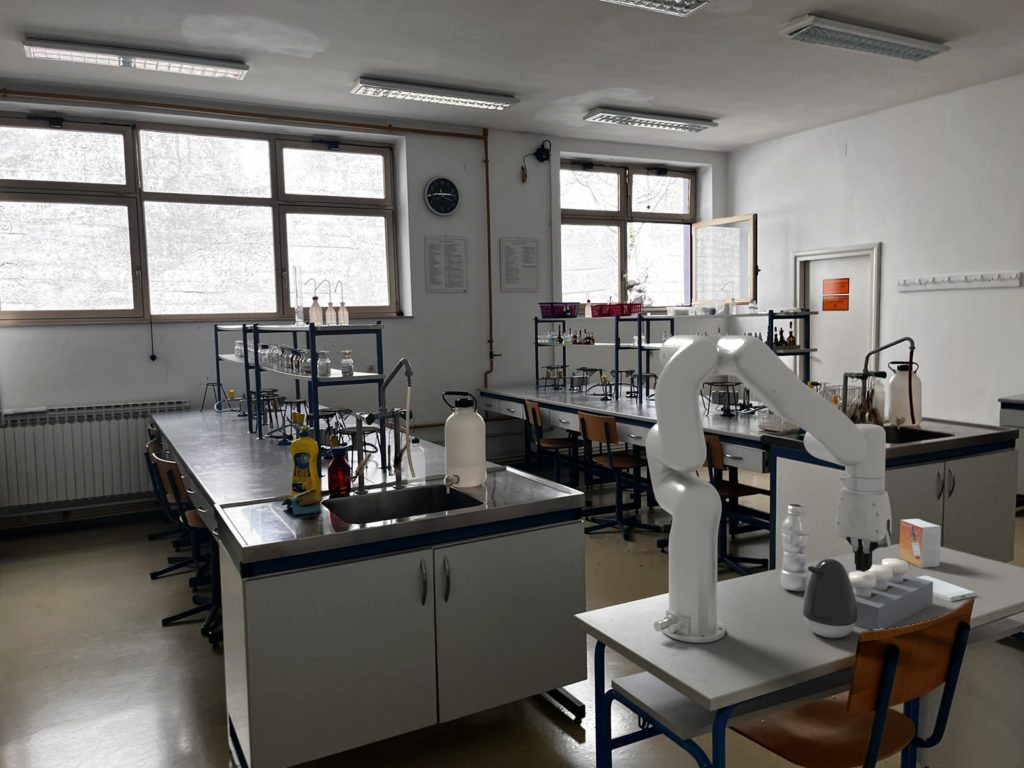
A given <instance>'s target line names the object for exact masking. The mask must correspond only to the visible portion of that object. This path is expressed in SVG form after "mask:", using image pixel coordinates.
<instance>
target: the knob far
mask: <svg viewBox="0 0 1024 768" xmlns="http://www.w3.org/2000/svg"><path fill="white" fill-rule="evenodd" d="M881 565H883V566H887V567H890V568H891V569H892V570H893V577H892V580H888V581H889V582H893V583H897V584H902V583H903V574H904V575H905V574H908V573H909V562H907V561H905V560H902V559H900V558H893V557H892V558H891V557H888V558H882V559H881Z"/></svg>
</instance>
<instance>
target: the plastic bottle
mask: <svg viewBox="0 0 1024 768" xmlns="http://www.w3.org/2000/svg"><path fill="white" fill-rule="evenodd" d="M786 512H787V514H788V515H787V516H786V517H785V518H784V520H782V522H781V525H780V532H781V533H780V534H781V539H782V550H783V551H782V553H783V554H782V555H783V556H782V557H783V558H782V567H781V570H780V571H781V572H780V575H779V576H780V583H781V585H782V587H783V588H784V589H785V590H788V591H792V592H805V590H806V587H807V584H808V581H809V578H810V576H811V571H809V570H808V566H810V565H809V547H810V546H809V545H810V539H811V538H810V537H811V533H812V528H811V525H810V523H809V521H808V519H806V517H805V515H806V506H805V504H801V503H789V504H788V505H787V510H786Z"/></svg>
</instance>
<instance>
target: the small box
mask: <svg viewBox="0 0 1024 768" xmlns="http://www.w3.org/2000/svg"><path fill="white" fill-rule="evenodd" d="M899 527H900V528H899V551H898V552H899V553H898V559H900V560H904V561H906V562H908V564H912V565H913V566H916V567H918V568H920V569H923V568H933V567H939V566H940V558H941V557H940V553H941V533H942V532H941V530H942V527H941V525H939V524H935V523H931V522H928V521H925V520H923V519H920V518H908V519H907V518H906V519H900V525H899Z"/></svg>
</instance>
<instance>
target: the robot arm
mask: <svg viewBox="0 0 1024 768" xmlns="http://www.w3.org/2000/svg"><path fill="white" fill-rule="evenodd" d="M658 356H659V362H660V365H661V366H662V368H663V369H662V370H661V373H660V374H659V376H658V379H657V380H656V381H657V382H656V384H655V388H654V408H655V415H656V423H655V424H654V425H652V427H651V428H650V430H649V431H648V432H647V435H646V439H645V451H646V459H647V463H648V464H647V465H648V468H649V474H650V480H651V485H652V491H653V493H654V497H655V500H656V502H657V503H658V505H659V506H660V507H661V508H662V509H663V510H664V511H666V513H668V514H669V515H671V517H672V521H671V522H672V523H671V528H670V531H669V532H670V533H669V538H668V610H666V611H665V617H663V619H661V620H658V621H655V622H654V623H653V628H654V630H655V631H656V632H658V633H659V632H662V633H664V634H665V635H666V636H667V637H669V638H672V639H674V640H677V641H680V642H685V643H692V644H693V643H696V644H697V643H699V644H701V643H702V644H704V643H712V642H715V641H717V640H720V639H721V638H723V637H724V636H725V633H726V631H725V630H726V628H725V625H724V624H723V622H721V621H720V620H718V538H719V537H718V536H719V528H720V527H719V526H720V521H721V516H722V511H723V510H722V500H721V496H720V494H719V492H718V491H717V489H716V487H714V485H712V484H711V482H708V481H707V480H705V479H704V478H702V477H700V476H697V475H695V472H696V471H698V470H700V468H701V467H702V466H703V465H704V464H705V462H706V459H707V452H708V451H707V444H706V438H705V433H704V428H703V423H702V417H701V412H700V403H699V402H700V399H699V398H700V397H699V396H700V392H701V389H702V386H703V384H704V383H705V381H706V380H707V379H708V378H709V376H732V377H736V378H737V379H739V380H740V381H741V382H742V384H744V386H745V387H747V388H748V389H749V390H750V392H751V393H753V394H754V395H755V397H757V399H758V400H759V401H760V402H761V403H762V404H763V405H764V406H765V407H766V408H767V409H768V410H769V411H770V412H772V413H773V414H775V415H776V416H777V417H780V418H781V419H783V420H785V421H787V422H790V424H794V425H795V426H797V427H799V428H800V429H802V430H803V431H805V434H804V438H803V444H804V448H805V450H806V451H807V452H808V454H810V456H813V457H814V458H817V459H819V460H821V461H822V460H823V461H826V462H829V463H833V464H835V465H839V466H842V467H845V471H844V474H840V475H839V481H841V482H843V486H842V487H841V488H840V491H839V494H838V500H837V503H836V514H835V531H836V533H837V535H838V537H839V538H841V539H843V540H845V541H847V542H848V543H849V545H850V546H851V549H852V551H853V552H854V566H855V571H860V572H866V571H867V570H870V568H871V567H872V565H873V553H874V551H876V550H877V549H878V548H888V547H890V546H892V545H891V539H890V538H891V536H892V532H893V531H892V530H893V529H892V521H893V520H892V510H891V504H890V502H891V501H890V498H889V497H890V496H889V493H888V491H885V490H886V489H885V488H886V484H885V483H886V444H887V443H886V441H887V440H886V439H887V438H886V437H887V436H886V430H885V429H884V427H883V426H881V425H878V424H872V423H871V424H870V423H854V422H853V421H852V420H851V419H850V418H849V417H848V415H846V414H845V413H844V412H843V411H842V410H841V409H839V407H837V406H836V405H835V404H833V403H832V402H830V401H829V400H828V399H826V398H824V396H822V395H821V394H820V393H818V392H817V391H816V390H814V389H813V388H811V387H810V386H808V385H807V384H806V383H804V382H803V381H802V380H801V379H800V377H798V376H797V375H796V374H795V373H794V371H793V370H791V369H790V368H789V366H787V364H786V363H785V362H784V361H783V360H782V359H781V358H780V357H779V356H778V355H777V354H776V353H775V352H774V350H772V349H771V348H770V347H769V345H767V343H765V342H764V341H763V340H762V339H760V338H758V337H756V336H753V335H737V334H734V335H729V334H728V335H699V334H698V335H697V334H677V335H673V336H670V337H669V338H668V339H666V340H665V341H664V342H663V343H662V345H661V347H660V349H659V355H658Z"/></svg>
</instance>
